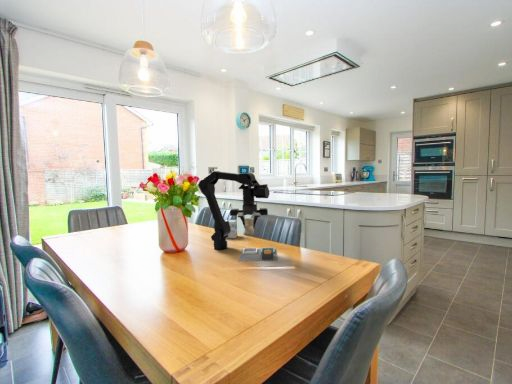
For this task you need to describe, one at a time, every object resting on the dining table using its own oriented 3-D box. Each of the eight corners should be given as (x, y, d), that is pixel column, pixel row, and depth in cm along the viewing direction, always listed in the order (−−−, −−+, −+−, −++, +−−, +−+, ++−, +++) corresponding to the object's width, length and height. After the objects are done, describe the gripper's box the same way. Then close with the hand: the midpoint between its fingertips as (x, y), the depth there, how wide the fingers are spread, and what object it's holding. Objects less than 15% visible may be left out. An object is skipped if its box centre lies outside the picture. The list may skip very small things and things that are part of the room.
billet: (245, 233, 130) (244, 219, 130) (246, 231, 134) (245, 218, 134) (253, 233, 130) (253, 219, 130) (253, 231, 134) (253, 218, 134)
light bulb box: (237, 235, 171) (237, 219, 170) (235, 238, 164) (235, 221, 164) (221, 235, 172) (220, 219, 171) (219, 238, 166) (218, 221, 165)
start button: (263, 258, 122) (263, 251, 122) (264, 255, 125) (263, 249, 125) (271, 258, 122) (271, 251, 121) (271, 255, 125) (271, 249, 125)
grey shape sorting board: (238, 263, 120) (238, 255, 120) (242, 251, 138) (242, 244, 138) (277, 262, 119) (277, 255, 119) (276, 250, 137) (276, 244, 137)
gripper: (227, 200, 123) (228, 232, 125) (267, 199, 122) (268, 232, 124) (230, 197, 134) (232, 227, 136) (267, 196, 133) (268, 227, 135)
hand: (249, 228), depth 132 cm, fingers closed on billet, 4 cm apart
